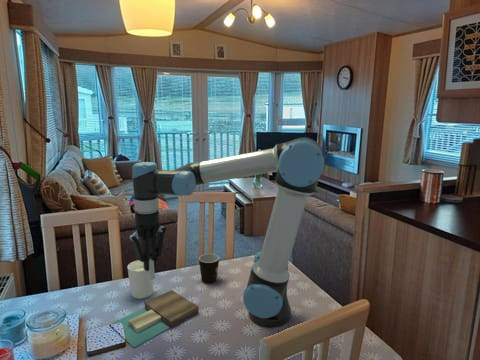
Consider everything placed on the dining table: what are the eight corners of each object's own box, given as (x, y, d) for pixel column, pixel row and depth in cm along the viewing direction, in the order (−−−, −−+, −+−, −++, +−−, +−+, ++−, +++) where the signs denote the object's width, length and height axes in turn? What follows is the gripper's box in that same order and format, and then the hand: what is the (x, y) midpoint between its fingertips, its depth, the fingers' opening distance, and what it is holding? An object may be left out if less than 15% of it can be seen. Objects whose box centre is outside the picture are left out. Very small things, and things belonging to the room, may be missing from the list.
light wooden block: (161, 320, 116) (161, 316, 115) (137, 332, 109) (137, 328, 109) (151, 313, 120) (151, 309, 119) (128, 324, 113) (128, 320, 113)
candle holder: (141, 302, 127) (139, 273, 124) (123, 295, 132) (121, 266, 129) (160, 291, 135) (159, 263, 132) (143, 284, 140) (141, 257, 137)
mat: (169, 328, 112) (169, 327, 112) (134, 348, 103) (134, 347, 103) (143, 309, 123) (143, 308, 123) (109, 325, 113) (109, 324, 113)
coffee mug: (209, 287, 138) (209, 264, 136) (194, 280, 143) (194, 258, 141) (227, 276, 147) (227, 255, 145) (213, 270, 152) (212, 249, 150)
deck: (198, 312, 121) (198, 306, 120) (170, 327, 112) (170, 321, 112) (171, 295, 132) (171, 289, 131) (144, 308, 123) (144, 302, 123)
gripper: (157, 204, 115) (160, 268, 120) (122, 212, 106) (126, 281, 111) (170, 208, 110) (173, 275, 115) (134, 217, 101) (139, 289, 106)
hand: (150, 278), depth 113 cm, fingers closed
